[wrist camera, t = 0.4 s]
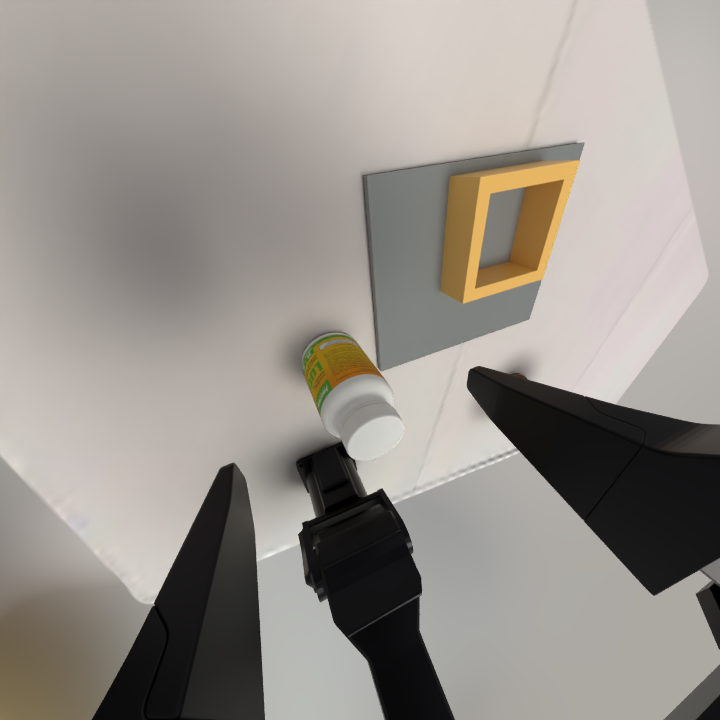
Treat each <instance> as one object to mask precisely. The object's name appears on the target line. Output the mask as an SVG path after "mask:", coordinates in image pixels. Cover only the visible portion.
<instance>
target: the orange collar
mask: <svg viewBox="0 0 720 720" xmlns="http://www.w3.org/2000/svg"><path fill="white" fill-rule="evenodd" d="M579 162H580V160H559V161H538V162H532V163H526V164H520V165H514V166H508V167H502V168H496V169H490V170H484V171H478V172H472V173H466V174H460V175H454V176H450V179H449V191H448V203H447V215H446V227H445V240H444V252H443V264H442V276H441V288H440V291H441V292H443V293H444V294H446V295H448V296H450V297H452V298H453V299H455V300H457V301H459V302H460V303H462V304H464V303H467V302H470V301H473V300H477V299H480V298H483V297H486V296H490V295H493V294H496V293H499V292H503V291H506V290H509V289H512V288H515V287H519V286H522V285H525V284H528V283H532V282H535V281H538V280H541V279H543V276H544V273H545V269H546V266H547V263H548V260H549V257H550V254H551V251H552V247H553V244H554V241H555V238H556V235H557V232H558V228H559V225H560V222H561V219H562V216H563V213H564V209H565V206H566V203H567V200H568V197H569V194H570V190H571V187H572V184H573V181H574V178H575V175H576V171H577V168H578V165H579ZM522 187H526V190H525V194H524V199H523V203H522V207H521V212H520V216H519V220H518V225H517V229H516V234H515V238H514V242H513V247H512V251H511V255H510V260H509V262H505V263H502V264H498V265H494V266H491V267H487V268H483V269H480V270H478V267H479V260H480V254H481V248H482V242H483V236H484V230H485V224H486V218H487V212H488V206H489V200H490V194H491V193H496V192H501V191H506V190H512V189H517V188H522Z"/></svg>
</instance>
